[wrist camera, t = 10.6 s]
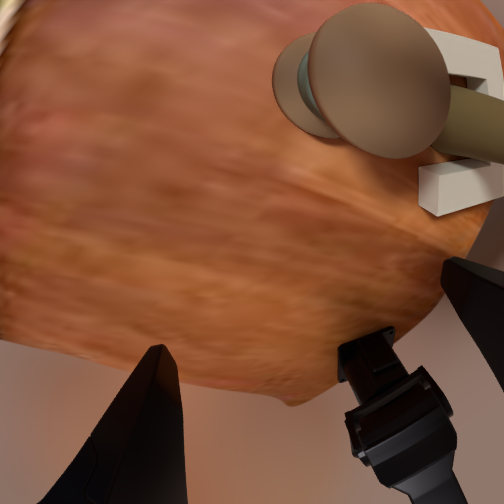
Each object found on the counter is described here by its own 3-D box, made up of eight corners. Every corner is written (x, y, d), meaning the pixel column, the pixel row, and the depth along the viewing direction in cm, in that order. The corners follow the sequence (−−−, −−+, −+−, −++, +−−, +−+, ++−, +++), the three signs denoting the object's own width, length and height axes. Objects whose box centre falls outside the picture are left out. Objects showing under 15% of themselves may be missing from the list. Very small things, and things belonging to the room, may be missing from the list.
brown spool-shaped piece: (379, 129, 17) (455, 150, 11) (284, 145, 17) (332, 171, 11) (362, 34, 14) (435, 14, 7) (260, 40, 14) (297, -1, 7)
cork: (419, 75, 15) (544, 88, 6) (467, 90, 16) (572, 114, 7) (418, 150, 18) (535, 201, 9) (465, 155, 19) (563, 201, 9)
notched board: (486, 187, 21) (503, 196, 19) (418, 205, 21) (437, 216, 18) (478, 47, 14) (498, 48, 12) (400, 31, 14) (421, 27, 12)
